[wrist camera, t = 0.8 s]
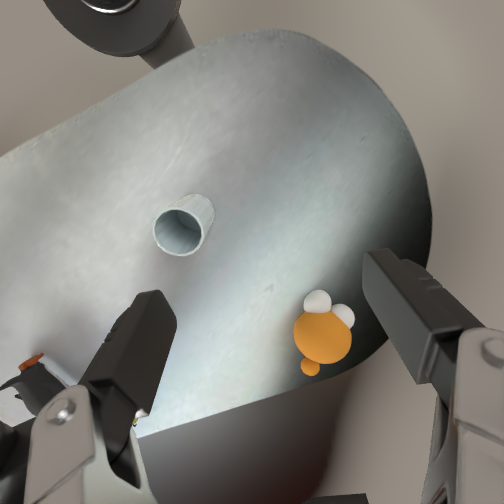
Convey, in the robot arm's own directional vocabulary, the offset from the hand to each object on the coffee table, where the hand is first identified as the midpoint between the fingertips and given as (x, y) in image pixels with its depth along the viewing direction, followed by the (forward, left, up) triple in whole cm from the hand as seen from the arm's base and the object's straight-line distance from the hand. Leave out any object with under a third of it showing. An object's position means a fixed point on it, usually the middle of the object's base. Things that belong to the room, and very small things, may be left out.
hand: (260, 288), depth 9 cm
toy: (+26, +1, -28) cm, 38 cm away
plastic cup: (0, -9, -28) cm, 29 cm away
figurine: (+20, -50, -28) cm, 60 cm away
